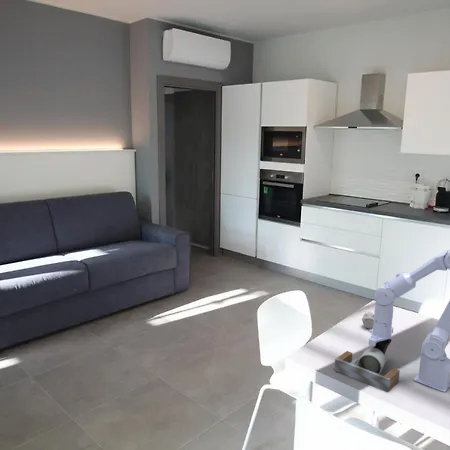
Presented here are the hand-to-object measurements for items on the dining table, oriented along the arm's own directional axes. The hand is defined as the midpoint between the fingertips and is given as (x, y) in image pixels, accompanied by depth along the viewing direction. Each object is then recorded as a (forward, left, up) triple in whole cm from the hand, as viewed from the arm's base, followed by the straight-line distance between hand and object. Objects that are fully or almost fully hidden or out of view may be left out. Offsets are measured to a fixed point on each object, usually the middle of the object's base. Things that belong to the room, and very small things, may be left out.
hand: (379, 358), depth 148 cm
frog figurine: (+16, -26, -3) cm, 31 cm away
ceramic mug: (+1, +7, -3) cm, 7 cm away
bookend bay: (0, +9, -2) cm, 9 cm away
